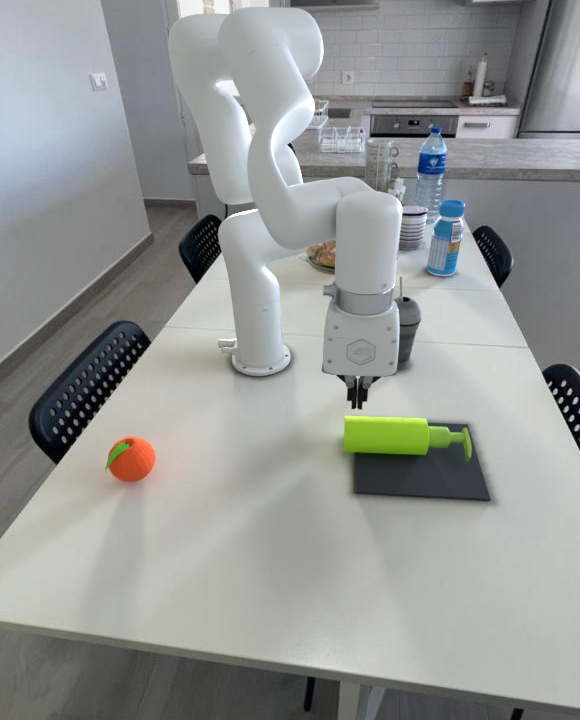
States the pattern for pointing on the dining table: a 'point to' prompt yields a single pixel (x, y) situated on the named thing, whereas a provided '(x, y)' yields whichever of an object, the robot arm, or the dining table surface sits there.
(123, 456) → the clementine
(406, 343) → the beverage cup
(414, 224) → the white striped cylinder
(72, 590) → the dining table surface
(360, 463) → the placemat
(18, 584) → the dining table surface
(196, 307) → the dining table surface
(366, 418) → the soap dispenser
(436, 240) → the beverage bottle
